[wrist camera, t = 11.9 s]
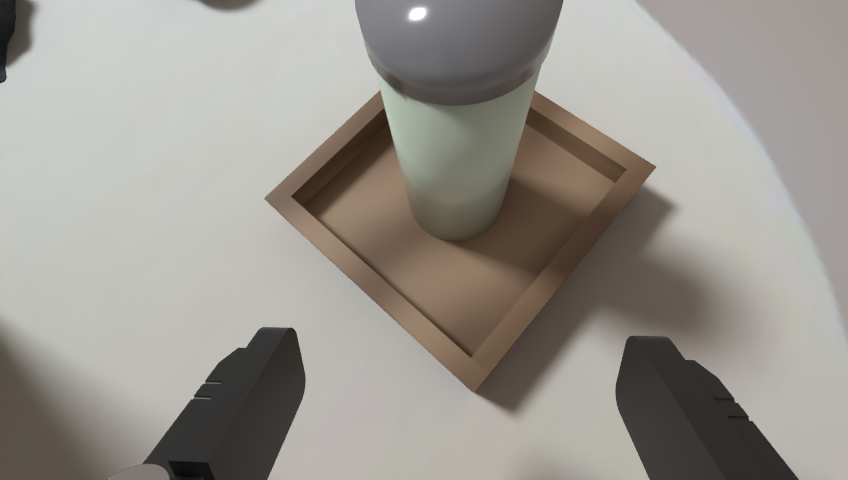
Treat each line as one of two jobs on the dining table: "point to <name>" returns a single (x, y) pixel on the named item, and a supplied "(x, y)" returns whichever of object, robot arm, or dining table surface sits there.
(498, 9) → the shaker
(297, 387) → the robot arm
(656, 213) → the dining table surface
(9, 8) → the dark slate chunk
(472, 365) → the tray
